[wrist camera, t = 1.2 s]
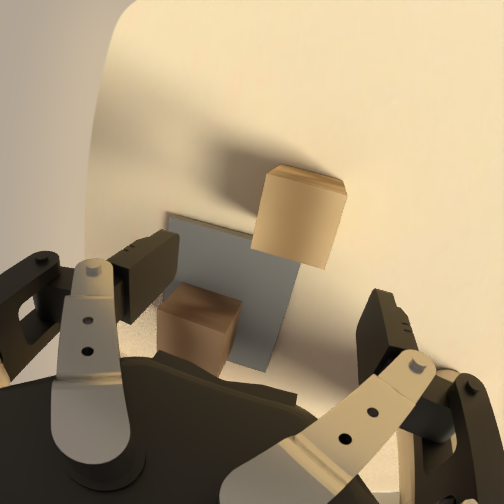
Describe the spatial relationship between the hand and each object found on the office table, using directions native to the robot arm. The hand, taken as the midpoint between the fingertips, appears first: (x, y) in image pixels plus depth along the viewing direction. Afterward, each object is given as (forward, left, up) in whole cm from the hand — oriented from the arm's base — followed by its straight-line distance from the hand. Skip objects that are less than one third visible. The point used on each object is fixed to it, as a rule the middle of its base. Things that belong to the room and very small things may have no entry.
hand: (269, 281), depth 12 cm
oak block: (0, 0, -14) cm, 14 cm away
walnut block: (+6, +13, -13) cm, 19 cm away
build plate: (+5, +11, -14) cm, 18 cm away
